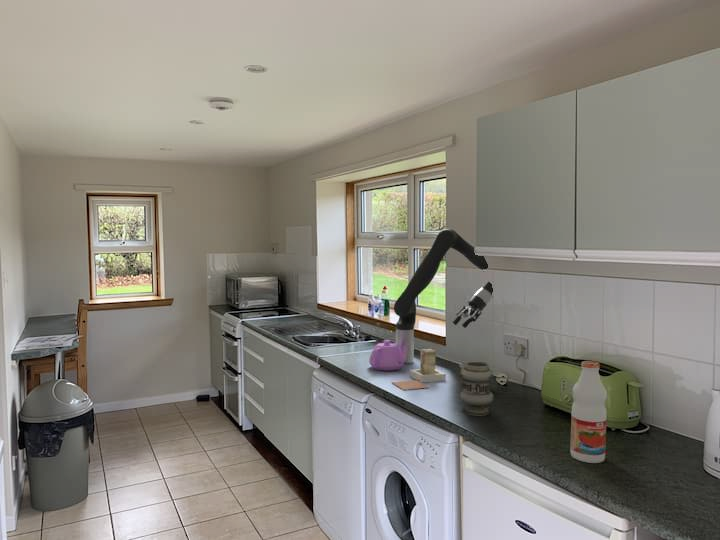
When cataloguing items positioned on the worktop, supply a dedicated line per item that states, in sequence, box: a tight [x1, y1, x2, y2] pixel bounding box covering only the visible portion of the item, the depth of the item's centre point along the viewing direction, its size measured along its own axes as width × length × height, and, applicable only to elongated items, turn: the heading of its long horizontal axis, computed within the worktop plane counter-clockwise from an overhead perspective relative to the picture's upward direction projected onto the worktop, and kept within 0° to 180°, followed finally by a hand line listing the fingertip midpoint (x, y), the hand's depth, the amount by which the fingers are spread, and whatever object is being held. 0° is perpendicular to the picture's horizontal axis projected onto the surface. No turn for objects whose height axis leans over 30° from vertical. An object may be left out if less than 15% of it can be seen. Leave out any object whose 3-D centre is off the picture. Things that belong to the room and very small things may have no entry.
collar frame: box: [409, 368, 447, 383], centre depth 247 cm, size 12×12×3 cm
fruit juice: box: [570, 360, 608, 464], centre depth 157 cm, size 9×9×28 cm
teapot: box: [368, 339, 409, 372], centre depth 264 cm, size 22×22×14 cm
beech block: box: [419, 348, 437, 375], centre depth 247 cm, size 5×5×13 cm
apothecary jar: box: [459, 360, 494, 417], centre depth 199 cm, size 12×12×18 cm
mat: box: [391, 379, 430, 391], centre depth 234 cm, size 12×12×1 cm
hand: (458, 325), depth 251 cm, fingers open, 8 cm apart
